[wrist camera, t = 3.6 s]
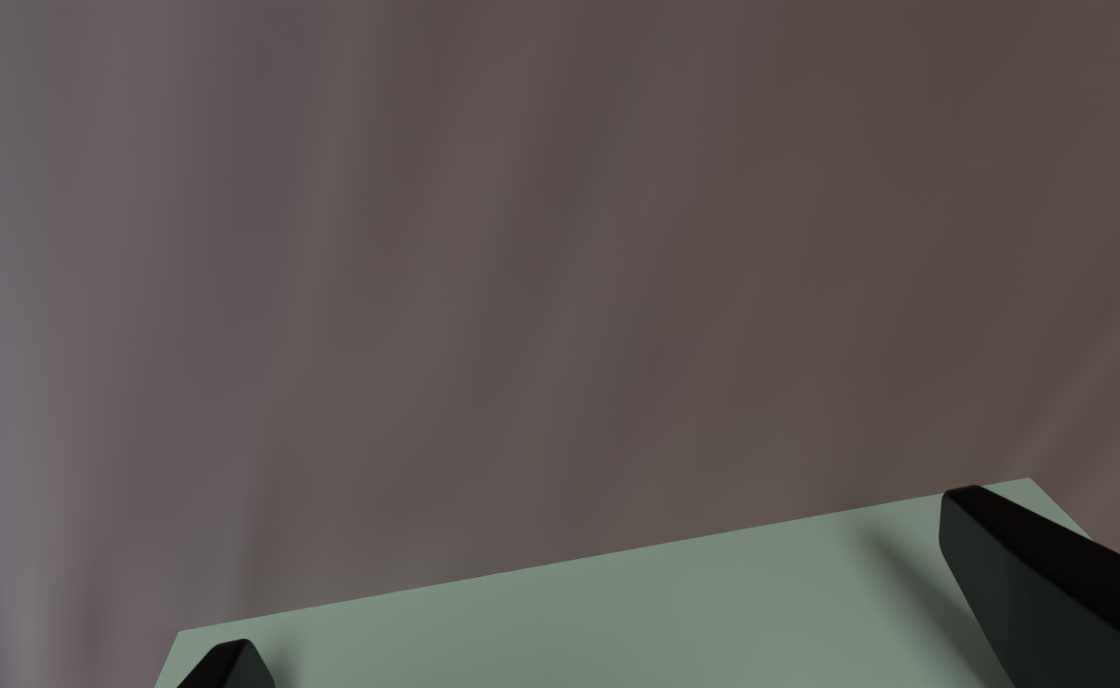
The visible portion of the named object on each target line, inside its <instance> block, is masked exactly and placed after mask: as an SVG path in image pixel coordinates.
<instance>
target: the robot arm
mask: <svg viewBox="0 0 1120 688" xmlns="http://www.w3.org/2000/svg"><path fill="white" fill-rule="evenodd" d="M939 545H940V549H941V552H942V555H943V557H944V559H945V561H946V563H947V565H948V566H949V568H950V570H951V572H952V574H953V576H954V578H955V580H956V582H957V584H958V585H959V587H960V589H961V591H962V593H963V595H964V597H965V599H966V601H967V602H968V604H969V606H970V608H971V610H972V612H973V614H974V616H975V618H976V619H977V621H978V623H979V625H980V627H981V629H982V631H983V633H984V635H985V637H986V638H987V640H988V642H989V644H990V646H991V648H992V650H993V651H994V653H995V655H996V657H997V659H998V660H999V662H1000V664H1001V666H1002V667H1003V669H1004V671H1005V672H1006V674H1007V675H1008V677H1009V678H1010V680H1011V682H1012V683H1013V685H1014V686H1015V688H1120V554H1119V553H1117V552H1115V551H1113V550H1111V549H1109V548H1107V547H1105V546H1103V545H1101V544H1098V543H1096V542H1094V541H1092V540H1090V539H1088V538H1086V537H1084V536H1082V535H1080V534H1078V533H1076V532H1074V531H1072V530H1070V529H1068V528H1066V527H1064V526H1062V525H1060V524H1058V523H1056V522H1054V521H1052V520H1049V519H1047V518H1045V517H1043V516H1041V515H1039V514H1037V513H1035V512H1033V511H1031V510H1029V509H1027V508H1025V507H1023V506H1021V505H1019V504H1017V503H1015V502H1013V501H1011V500H1009V499H1007V498H1005V497H1002V496H1000V495H998V494H996V493H994V492H992V491H990V490H988V489H986V488H984V487H981V486H978V485H970V486H965V487H961V488H956V489H951V490H948V491H946V492H945V493H944V494H943V496H942V500H941V510H940V523H939ZM177 688H276V687H275V682H274V679H273V677H272V675H271V673H270V671H269V669H268V668H267V666H266V664H265V663H264V661H263V659H262V657H261V656H260V654H259V652H258V650H257V649H256V647H255V645H254V644H253V643H252V641H250V640H249V639H244V638H243V639H238V640H233V641H228V642H224V643H219V644H217V645H215V646H214V647H213V648H211V649H210V650H209V651H208V653H207V654H206V655H205V656H204V657H203V658H202V659H201V660H200V662H199V663H198V664H197V665H196V666H195V667H194V668H193V670H192V671H191V672H190V673H189V674H188V675H187V676H186V677H185V679H184V680H183V681H182V682H181V683H180V684H179V685H178V686H177Z"/></svg>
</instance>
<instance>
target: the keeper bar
mask: <svg viewBox="0 0 1120 688" xmlns="http://www.w3.org/2000/svg"><path fill="white" fill-rule="evenodd" d="M981 487H984V488H986V489H988V490H990V491H992V492H994V493H996V494H998V495H1000V496H1002V497H1005V498H1007V499H1009V500H1011V501H1013V502H1015V503H1017V504H1019V505H1021V506H1023V507H1025V508H1027V509H1029V510H1031V511H1033V512H1035V513H1037V514H1039V515H1041V516H1043V517H1045V518H1047V519H1049V520H1052V521H1054V522H1056V523H1058V524H1060V525H1062V526H1064V527H1066V528H1068V529H1070V530H1072V531H1074V532H1076V533H1078V534H1080V535H1082V536H1084V537H1086V538H1088V539H1090V540H1092V539H1091V538H1090V537H1089V536H1088V535H1087V534H1086V533H1085V532H1084V531H1083V530H1082V529H1081V528H1080V527H1079V526H1078V525H1077V524H1076V523H1075V522H1074V521H1073V520H1072V519H1071V518H1070V517H1069V516H1068V515H1067V514H1066V513H1065V512H1064V511H1063V510H1062V509H1061V508H1060V507H1059V506H1058V505H1057V504H1056V503H1055V502H1054V501H1053V500H1052V499H1051V498H1050V497H1049V496H1048V495H1047V494H1046V493H1045V492H1044V491H1043V490H1042V489H1041V488H1040V487H1039V486H1038V485H1037V484H1036V483H1035V482H1034V481H1033V480H1032V479H1031V478H1030V477H1029V478H1024V479H1018V480H1012V481H1007V482H1001V483H996V484H990V485H985V486H981ZM943 494H944V493H941V494H935V495H930V496H924V497H919V498H913V499H908V500H902V501H897V502H891V503H885V504H880V505H874V506H869V507H863V508H858V509H852V510H847V511H841V512H836V513H830V514H825V515H819V516H814V517H808V518H803V519H797V520H792V521H786V522H781V523H775V524H769V525H764V526H758V527H753V528H747V529H742V530H736V531H731V532H725V533H720V534H714V535H709V536H703V537H698V538H692V539H687V540H681V541H676V542H670V543H665V544H659V545H654V546H648V547H642V548H637V549H631V550H626V551H620V552H615V553H609V554H604V555H598V556H593V557H587V558H582V559H576V560H571V561H565V562H560V563H554V564H549V565H543V566H538V567H532V568H527V569H521V570H515V571H510V572H504V573H499V574H493V575H488V576H482V577H477V578H471V579H466V580H460V581H455V582H449V583H444V584H438V585H433V586H427V587H422V588H416V589H411V590H405V591H400V592H394V593H388V594H383V595H377V596H372V597H366V598H361V599H355V600H350V601H344V602H339V603H333V604H328V605H322V606H317V607H311V608H306V609H300V610H295V611H289V612H284V613H278V614H273V615H267V616H261V617H256V618H250V619H245V620H239V621H234V622H228V623H223V624H217V625H212V626H206V627H201V628H195V629H190V630H184V631H179V632H178V635H177V637H176V639H175V642H174V644H173V646H172V648H171V651H170V653H169V655H168V658H167V660H166V662H165V664H164V667H163V669H162V671H161V674H160V676H159V678H158V680H157V683H156V685H155V687H154V688H177V686H178V685H179V684H180V683H181V682H182V681H183V680H184V679H185V677H186V676H187V675H188V674H189V673H190V672H191V671H192V670H193V668H194V667H195V666H196V665H197V664H198V663H199V662H200V660H201V659H202V658H203V657H204V656H205V655H206V654H207V653H208V651H209V650H210V649H211V648H213V647H214V646H215V645H217V644H219V643H224V642H228V641H233V640H238V639H243V638H244V639H249V640H250V641H252V643H253V644H254V645H255V647H256V649H257V650H258V652H259V654H260V656H261V657H262V659H263V661H264V663H265V664H266V666H267V668H268V669H269V671H270V673H271V675H272V677H273V679H274V682H275V687H276V688H1015V686H1014V685H1013V683H1012V682H1011V680H1010V678H1009V677H1008V675H1007V674H1006V672H1005V671H1004V669H1003V667H1002V666H1001V664H1000V662H999V660H998V659H997V657H996V655H995V653H994V651H993V650H992V648H991V646H990V644H989V642H988V640H987V638H986V637H985V635H984V633H983V631H982V629H981V627H980V625H979V623H978V621H977V619H976V618H975V616H974V614H973V612H972V610H971V608H970V606H969V604H968V602H967V601H966V599H965V597H964V595H963V593H962V591H961V589H960V587H959V585H958V584H957V582H956V580H955V578H954V576H953V574H952V572H951V570H950V568H949V566H948V565H947V563H946V561H945V559H944V557H943V555H942V552H941V549H940V545H939V523H940V510H941V500H942V496H943ZM1092 541H1093V540H1092Z"/></svg>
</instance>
